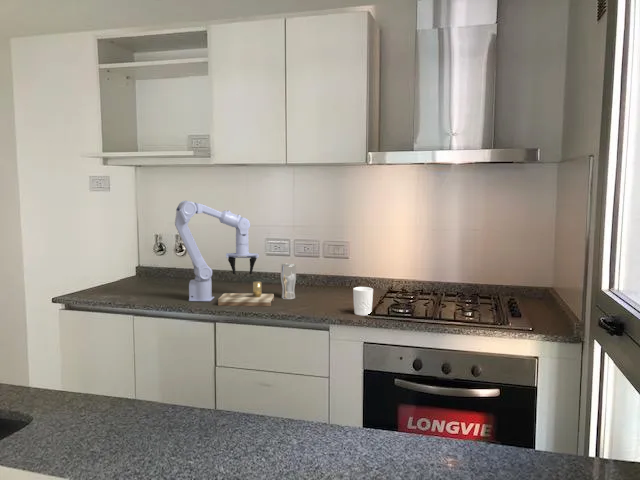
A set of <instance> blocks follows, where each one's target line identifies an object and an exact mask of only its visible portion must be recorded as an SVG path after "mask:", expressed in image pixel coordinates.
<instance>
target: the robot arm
mask: <svg viewBox="0 0 640 480" xmlns="http://www.w3.org/2000/svg"><path fill="white" fill-rule="evenodd" d="M195 214H204V215H207V216H211V217H213V218H216V219H218V220H219V222H220V223H222V224H224V225H226V226H229V227H231V228H235V252H229V253H227V252H226V253H225V258H226V259H227V261H228V262H229V265H230V267H231V271H232V275H235V274H236V259H249V274H250V275H252V274H253V271H254V270H253V269H254V266H255V264H256V261H257V259H259V257H260V254H259V253H255V252H254V253H253V252H249V251H250V250H249V249H250V247H249V246H250V245H249V243H250V241H249V239H250V237H249V235H250V233H249V229H250V228H251V221H249V219H248V218H247V217H243V216H241V214H236V213H234V212H233V213H232V211H231V210H229V209H228V210H223V211H220V210H217V209H215V208H213V207H210V206H208V205H205V204H202V203H199V202H198V203H197V202H193V201H191V200H189V201H188V200H183V201H180V203H179V204H178V205H177V207H176V210H175V219H174V226H175V229H176V230H177V233H178V235H179V236H180V238H181V240H182V243H183V246H184V247H185V249H186V252H187V253H188V255H189V257H190V260H191V263H192V266H193V273H194V275H195V277H194V279H190V280H189V283H188V297H189V298H188V302H212V301H213V300H214V299H215V296H213V292H212V290H213V287H212V284H213V283H212V282H213V281H212V276H213V269H212V268H211V267H210V266H208V264H207V262H206V260H205V258H204V257H203V255H202V253H201V251H200V249H199V247H198V245H197V243H196V239H194V236H193V234H192V231H191V229H190V227H189V222H190V221H191V218H192V217H194V215H195Z"/></svg>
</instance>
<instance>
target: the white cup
mask: <svg viewBox="0 0 640 480" xmlns="http://www.w3.org/2000/svg"><path fill="white" fill-rule="evenodd" d="M352 291H353V292H352V295H353V296H352V297H353V298H352V299H353V311H354V312H353V313H354V315H356V316H365V317H366V316H369V315H368V314H370V313H371V312H372V311H373V299H374V296H373V295H374V288H372V287H368V286H356V287H353V289H352ZM372 313H373V312H372Z"/></svg>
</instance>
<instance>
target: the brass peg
mask: <svg viewBox="0 0 640 480" xmlns="http://www.w3.org/2000/svg"><path fill="white" fill-rule="evenodd" d="M262 283H263V282H262V281H260V280H259V281H253V282H252V294H253V296H255V297H260V296H261V295H262V294H263V293H262V291H263V290H262V288H263V287H262V285H263V284H262Z"/></svg>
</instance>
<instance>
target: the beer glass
mask: <svg viewBox="0 0 640 480" xmlns="http://www.w3.org/2000/svg"><path fill="white" fill-rule="evenodd" d="M280 280H281V287H282V292H281V299H283V300H293V299H296V294H295V286H296V281H297V264H296V263H295V264H294V263H282V264H280Z"/></svg>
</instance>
